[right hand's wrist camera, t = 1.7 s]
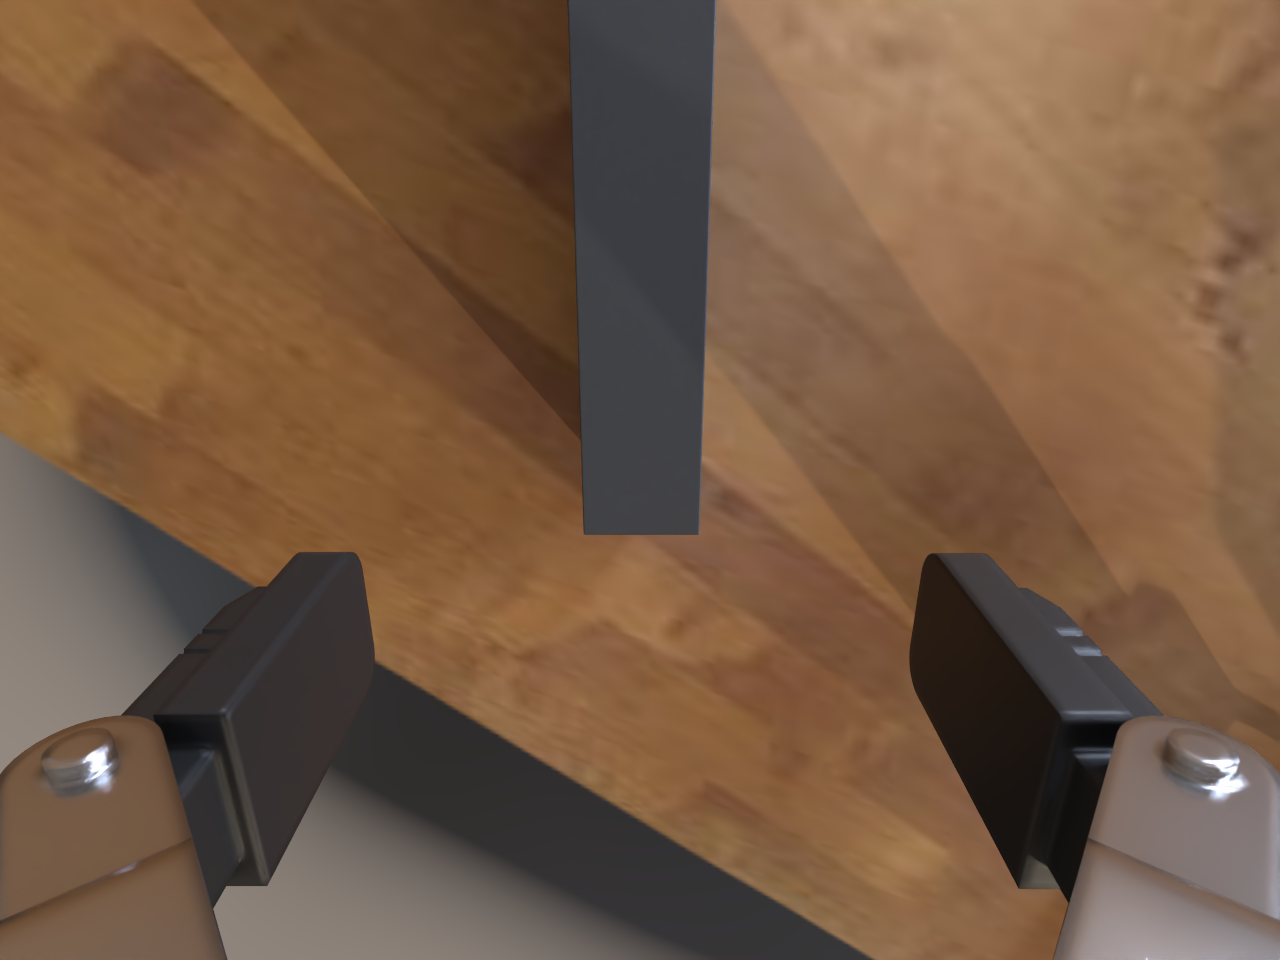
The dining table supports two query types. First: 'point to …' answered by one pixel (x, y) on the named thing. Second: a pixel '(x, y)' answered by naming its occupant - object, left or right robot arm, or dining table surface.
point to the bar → (641, 256)
